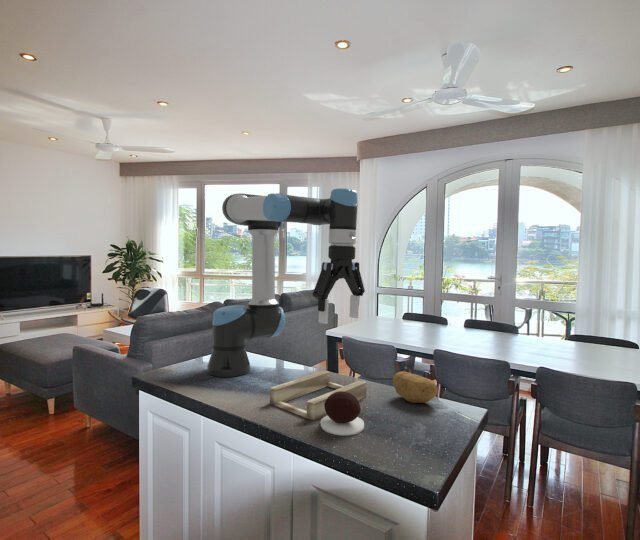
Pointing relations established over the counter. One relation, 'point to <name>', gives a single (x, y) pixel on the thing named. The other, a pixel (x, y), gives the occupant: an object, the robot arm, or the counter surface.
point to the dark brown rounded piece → (342, 407)
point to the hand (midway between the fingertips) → (339, 320)
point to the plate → (342, 426)
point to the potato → (414, 387)
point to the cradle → (309, 385)
